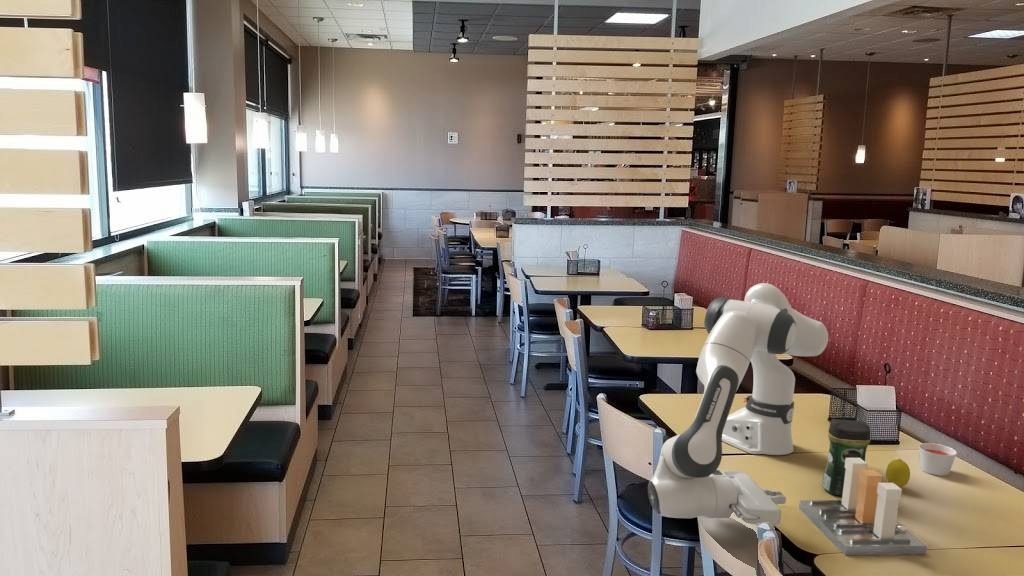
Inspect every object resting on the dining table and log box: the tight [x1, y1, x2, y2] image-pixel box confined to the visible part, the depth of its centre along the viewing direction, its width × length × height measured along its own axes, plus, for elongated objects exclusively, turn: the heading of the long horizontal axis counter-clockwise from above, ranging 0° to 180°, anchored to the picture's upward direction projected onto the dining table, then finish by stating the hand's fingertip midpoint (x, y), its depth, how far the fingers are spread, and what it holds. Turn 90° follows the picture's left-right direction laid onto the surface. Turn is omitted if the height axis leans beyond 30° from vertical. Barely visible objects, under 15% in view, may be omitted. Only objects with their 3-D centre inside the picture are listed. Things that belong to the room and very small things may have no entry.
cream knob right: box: [873, 482, 903, 539], centre depth 170 cm, size 3×3×11 cm
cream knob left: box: [841, 458, 868, 509], centre depth 184 cm, size 3×3×11 cm
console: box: [798, 499, 928, 556], centre depth 178 cm, size 18×22×3 cm
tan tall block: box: [855, 469, 883, 523], centre depth 177 cm, size 3×3×11 cm
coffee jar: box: [822, 418, 871, 497], centre depth 198 cm, size 10×8×19 cm
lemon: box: [885, 458, 911, 488], centre depth 202 cm, size 6×6×8 cm
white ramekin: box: [918, 442, 957, 477], centre depth 215 cm, size 9×9×6 cm
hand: (783, 497), depth 175 cm, fingers closed
